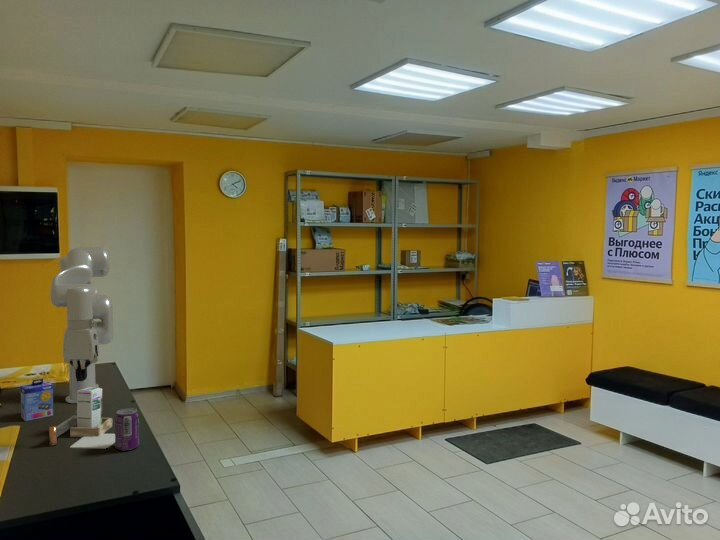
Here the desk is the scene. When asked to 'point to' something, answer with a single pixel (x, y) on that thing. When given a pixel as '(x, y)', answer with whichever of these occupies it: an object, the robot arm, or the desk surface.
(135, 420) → the beverage can
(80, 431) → the cradle
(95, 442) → the mat
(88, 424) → the syrup box
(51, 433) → the lever
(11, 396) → the desk surface
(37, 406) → the ink cartridge box
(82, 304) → the robot arm
